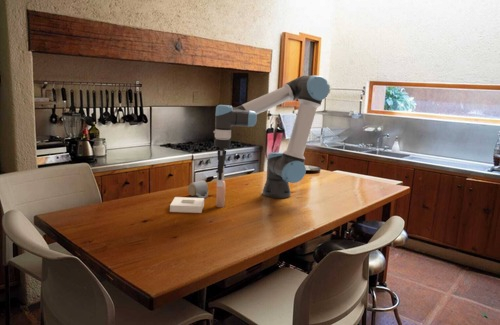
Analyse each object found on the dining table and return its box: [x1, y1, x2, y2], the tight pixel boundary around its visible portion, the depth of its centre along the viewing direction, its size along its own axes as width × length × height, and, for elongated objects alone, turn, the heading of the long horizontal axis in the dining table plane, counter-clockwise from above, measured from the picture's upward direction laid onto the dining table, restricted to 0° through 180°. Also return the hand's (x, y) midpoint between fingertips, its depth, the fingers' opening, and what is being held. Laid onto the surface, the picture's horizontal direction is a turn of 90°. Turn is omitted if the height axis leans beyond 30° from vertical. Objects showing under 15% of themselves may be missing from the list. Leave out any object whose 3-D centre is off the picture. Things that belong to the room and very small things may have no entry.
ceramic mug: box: [187, 179, 209, 199], centre depth 211 cm, size 11×8×8 cm
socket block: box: [169, 196, 205, 214], centre depth 191 cm, size 14×14×3 cm
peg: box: [215, 180, 226, 208], centre depth 195 cm, size 4×4×12 cm
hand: (220, 183), depth 194 cm, fingers open, 13 cm apart
